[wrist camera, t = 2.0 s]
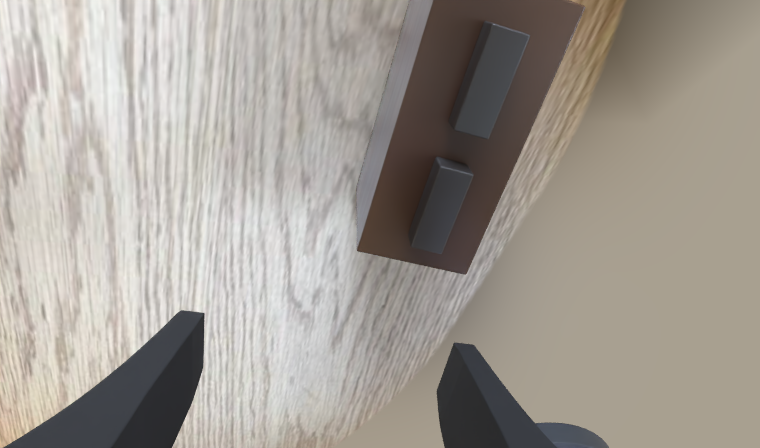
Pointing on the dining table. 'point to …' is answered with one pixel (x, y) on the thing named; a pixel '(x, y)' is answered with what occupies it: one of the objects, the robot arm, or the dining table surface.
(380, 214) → the knife block
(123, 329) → the dining table surface
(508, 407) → the robot arm
